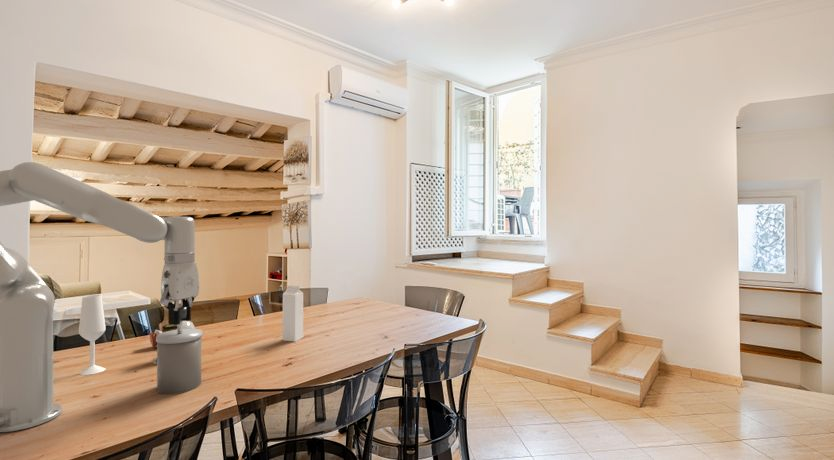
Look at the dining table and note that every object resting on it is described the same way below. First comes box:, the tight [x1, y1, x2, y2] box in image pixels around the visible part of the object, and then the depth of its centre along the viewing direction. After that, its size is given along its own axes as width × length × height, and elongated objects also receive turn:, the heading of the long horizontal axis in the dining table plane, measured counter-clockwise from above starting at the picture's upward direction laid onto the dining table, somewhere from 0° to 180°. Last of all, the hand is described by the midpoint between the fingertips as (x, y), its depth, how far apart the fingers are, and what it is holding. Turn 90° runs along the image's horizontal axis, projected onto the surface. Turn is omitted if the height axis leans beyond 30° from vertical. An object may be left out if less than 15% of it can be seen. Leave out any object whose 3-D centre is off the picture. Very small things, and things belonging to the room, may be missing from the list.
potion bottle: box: [149, 320, 196, 349], centre depth 156 cm, size 9×10×15 cm
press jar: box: [156, 328, 204, 395], centre depth 116 cm, size 13×12×15 cm
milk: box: [282, 285, 304, 342], centre depth 165 cm, size 6×6×22 cm
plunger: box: [177, 305, 187, 334], centre depth 116 cm, size 4×4×8 cm
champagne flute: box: [78, 294, 106, 376], centre depth 127 cm, size 7×7×24 cm
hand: (179, 321), depth 116 cm, fingers closed on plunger, 3 cm apart
